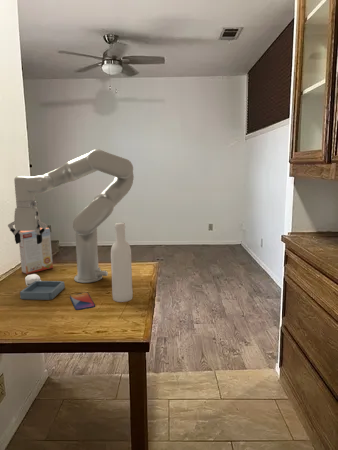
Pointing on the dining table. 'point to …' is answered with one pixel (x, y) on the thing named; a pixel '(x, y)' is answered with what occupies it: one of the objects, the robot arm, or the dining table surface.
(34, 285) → the tray
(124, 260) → the bottle
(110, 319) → the dining table surface
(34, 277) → the garlic
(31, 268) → the cracker box
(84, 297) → the smartphone
